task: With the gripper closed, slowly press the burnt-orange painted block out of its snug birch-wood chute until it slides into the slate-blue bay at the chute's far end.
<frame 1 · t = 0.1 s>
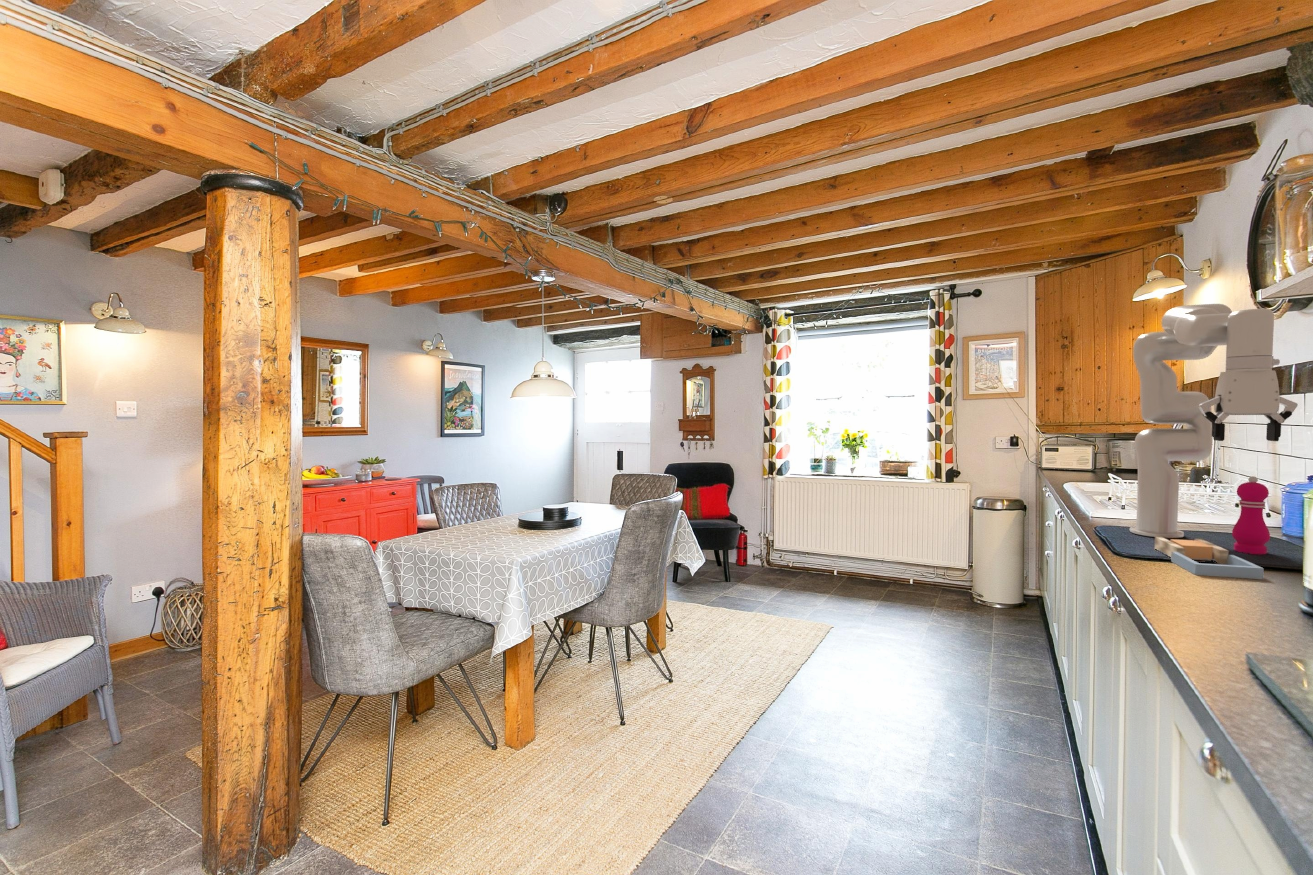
hand: (1245, 440, 139), 31 cm above the countertop, fingers open, 9 cm apart
pepper mill: (1249, 552, 161), on the countertop
chute: (1198, 561, 153), on the countertop
block: (1190, 558, 157), on the countertop
bay: (1213, 569, 146), on the countertop
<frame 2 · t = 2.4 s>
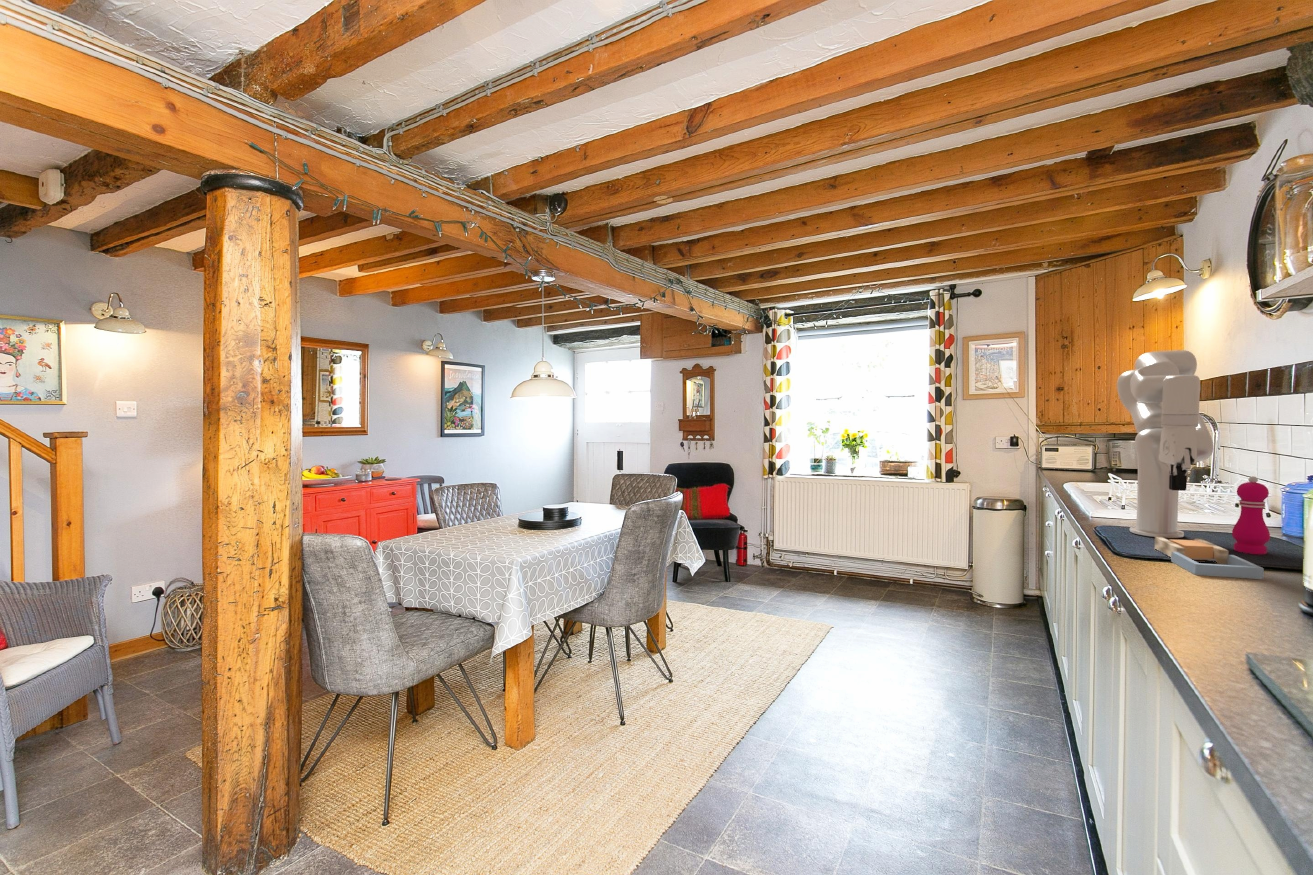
hand: (1177, 489, 163), 16 cm above the countertop, fingers closed
nothing on the countertop moved.
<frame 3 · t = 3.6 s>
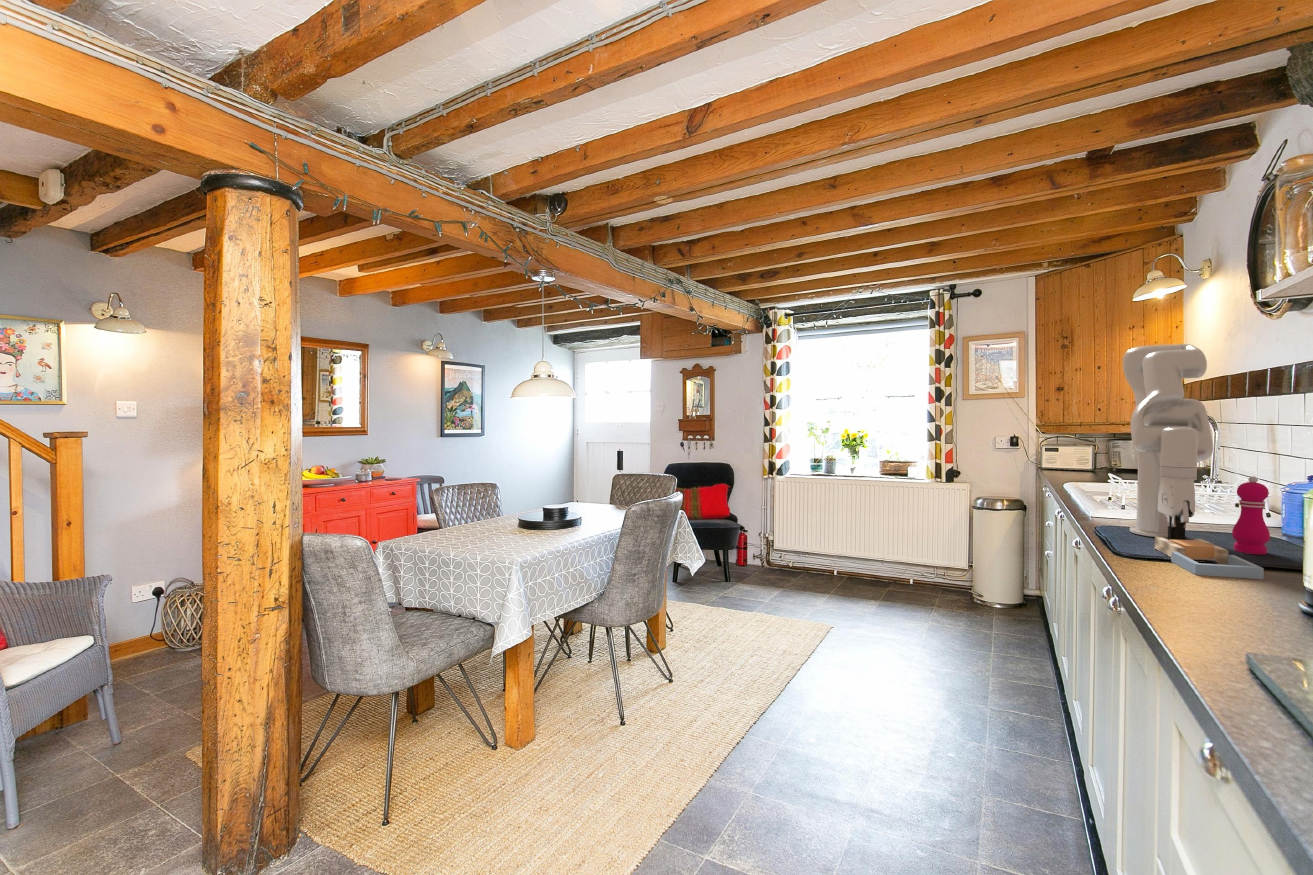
hand: (1176, 541, 164), 2 cm above the countertop, fingers closed
nothing on the countertop moved.
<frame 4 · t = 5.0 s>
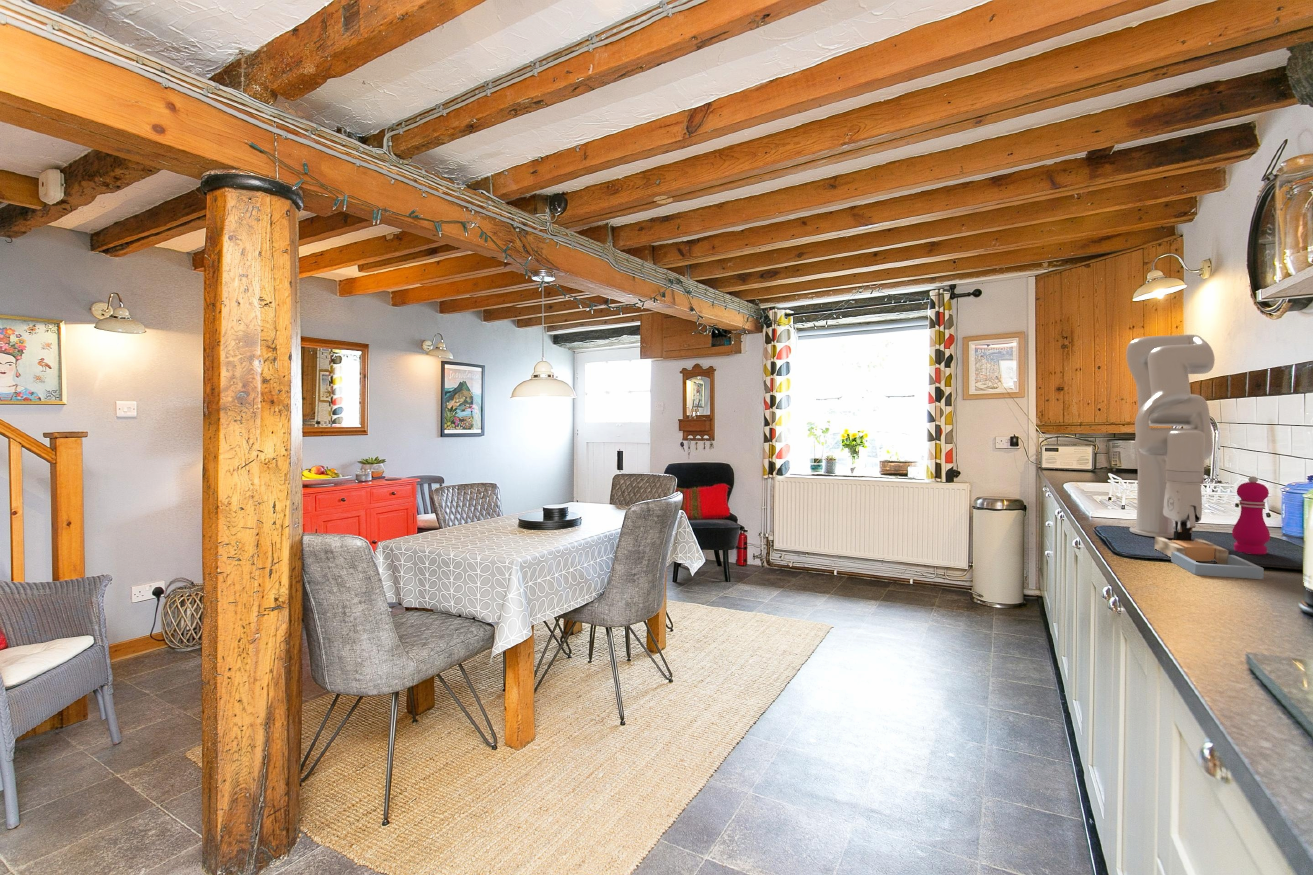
hand: (1182, 546, 161), 2 cm above the countertop, fingers closed
block: (1191, 559, 156), on the countertop, touching chute
everything else where it was.
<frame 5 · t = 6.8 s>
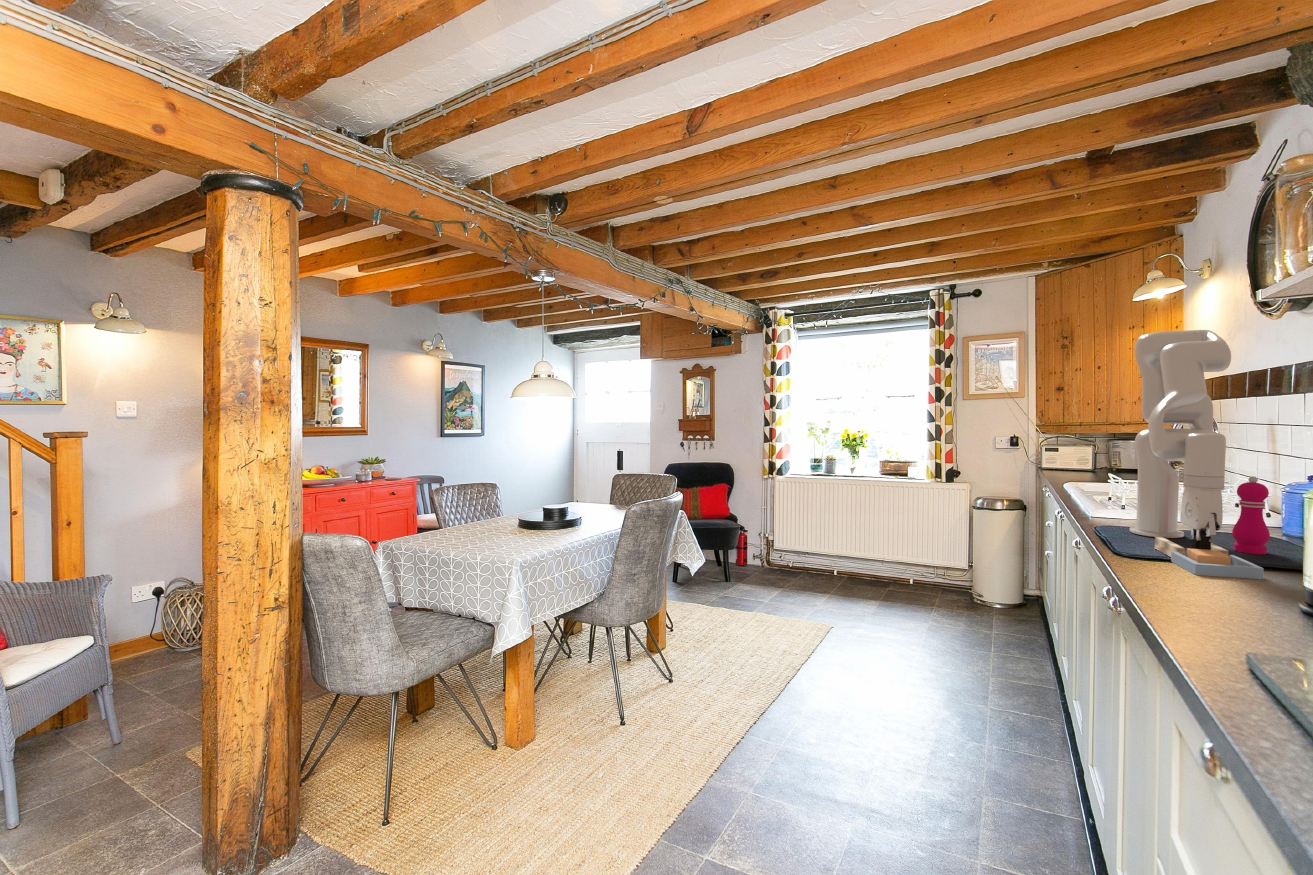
hand: (1200, 555, 151), 2 cm above the countertop, fingers closed
block: (1207, 568, 147), on the countertop
everything else where it was.
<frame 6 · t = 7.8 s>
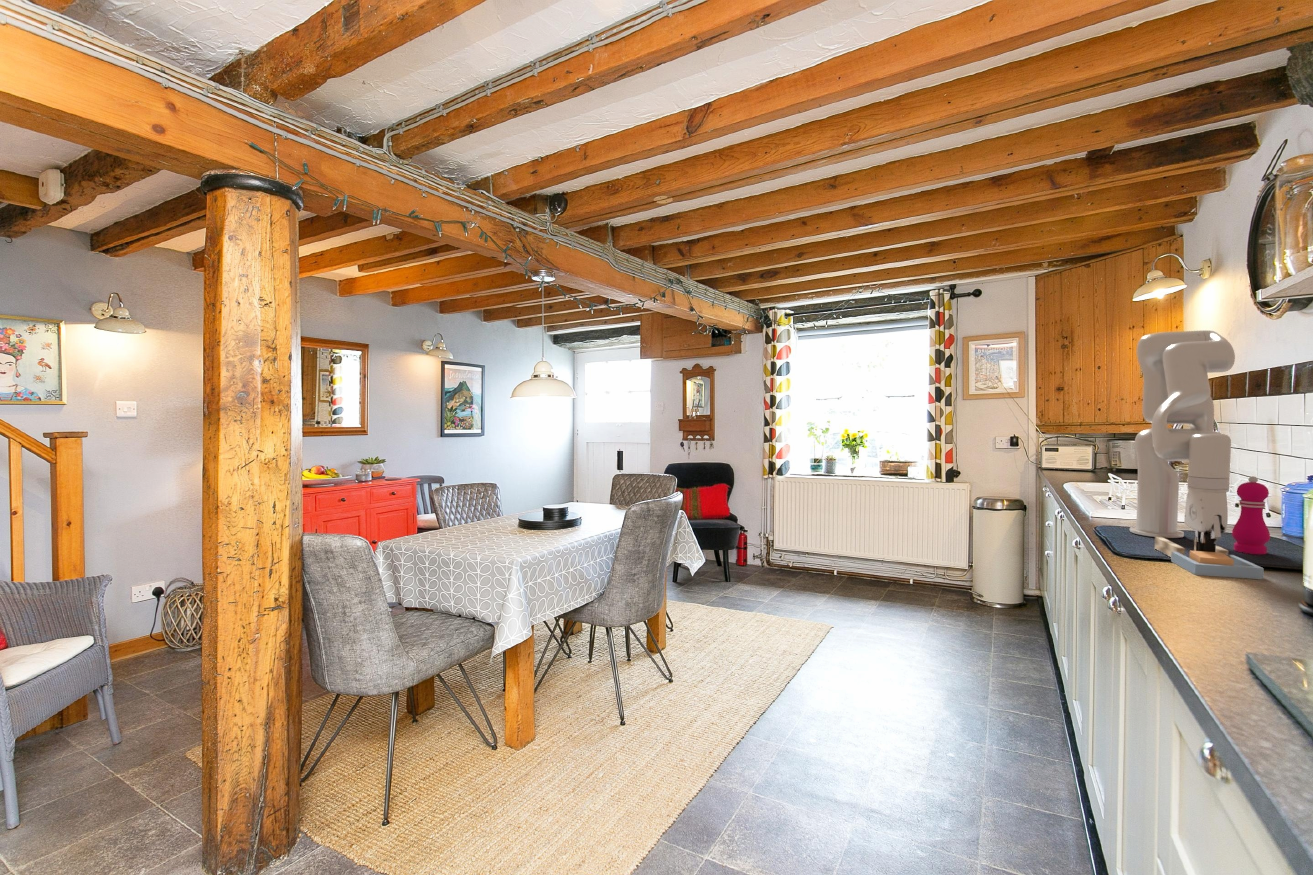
hand: (1205, 558, 149), 2 cm above the countertop, fingers closed
block: (1210, 571, 145), on the countertop
everything else where it was.
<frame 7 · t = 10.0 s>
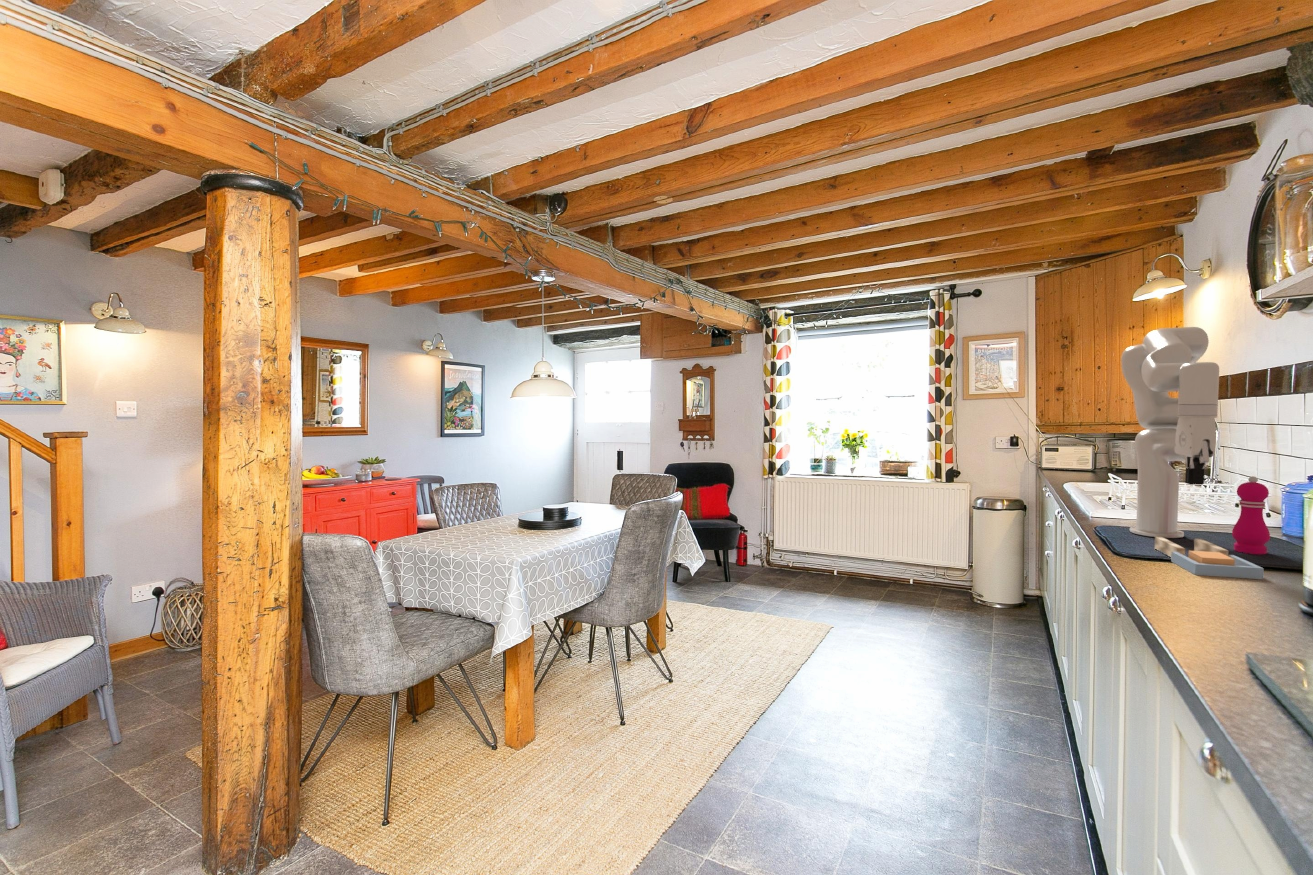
hand: (1194, 483, 155), 19 cm above the countertop, fingers closed
nothing on the countertop moved.
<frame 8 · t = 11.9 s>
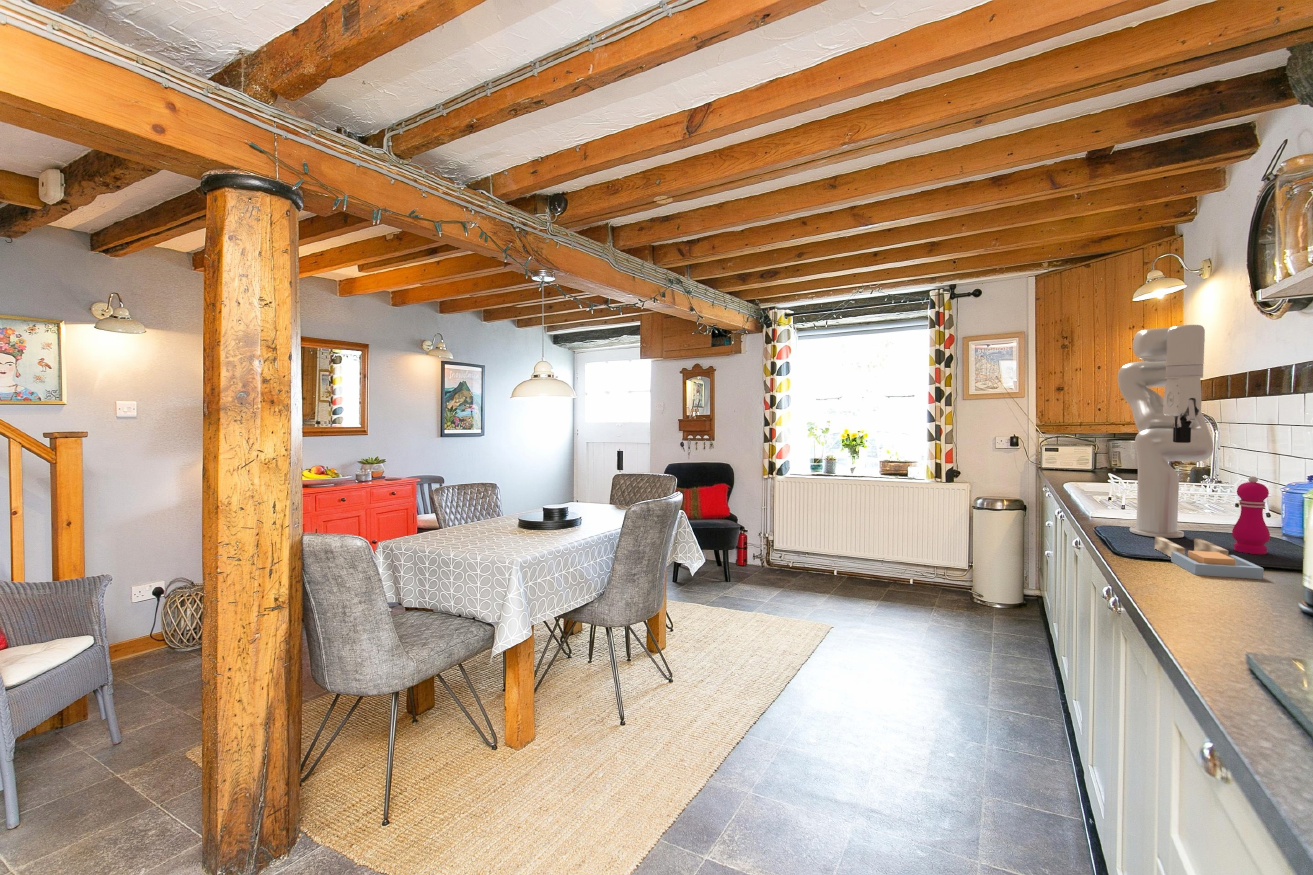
hand: (1181, 442, 161), 29 cm above the countertop, fingers closed
nothing on the countertop moved.
at the end: block 1.2 cm from the target spot, on the countertop; block tilted 0° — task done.
